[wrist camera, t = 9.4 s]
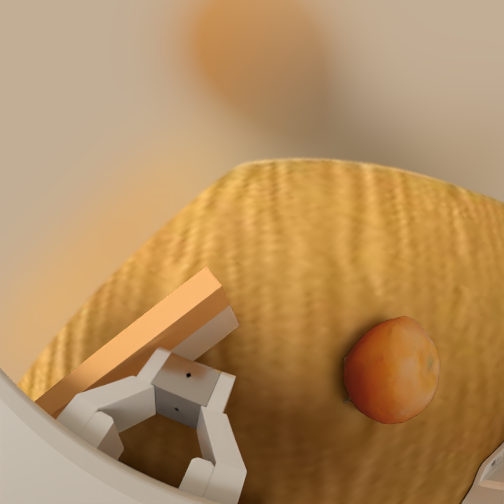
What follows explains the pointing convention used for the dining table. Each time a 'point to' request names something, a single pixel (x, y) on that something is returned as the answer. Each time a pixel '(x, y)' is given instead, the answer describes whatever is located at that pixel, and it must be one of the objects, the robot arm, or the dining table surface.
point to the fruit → (392, 371)
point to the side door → (153, 339)
